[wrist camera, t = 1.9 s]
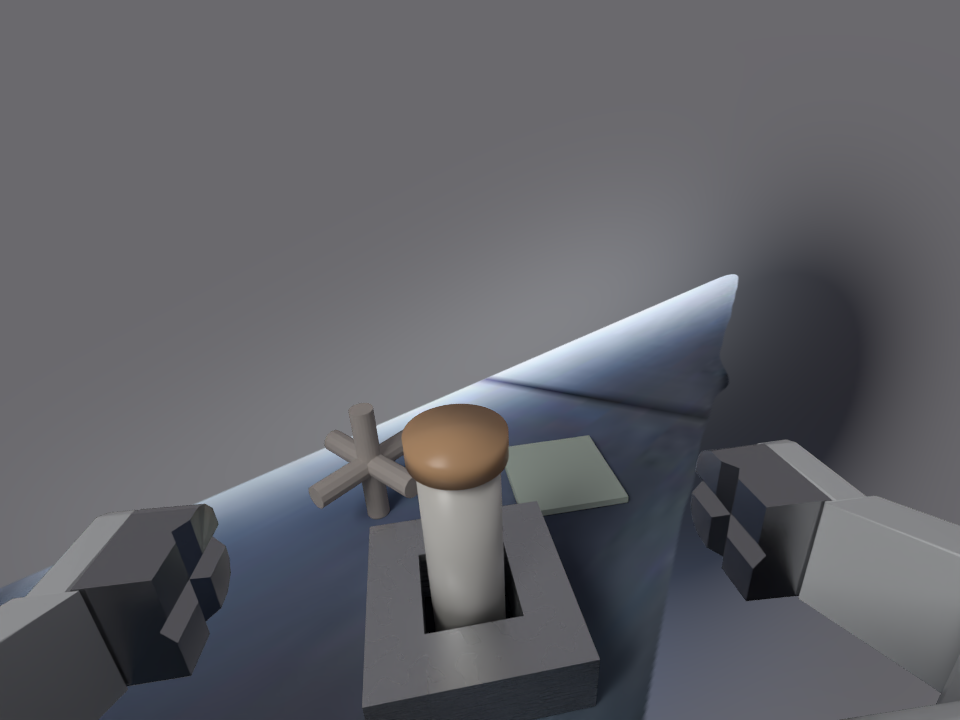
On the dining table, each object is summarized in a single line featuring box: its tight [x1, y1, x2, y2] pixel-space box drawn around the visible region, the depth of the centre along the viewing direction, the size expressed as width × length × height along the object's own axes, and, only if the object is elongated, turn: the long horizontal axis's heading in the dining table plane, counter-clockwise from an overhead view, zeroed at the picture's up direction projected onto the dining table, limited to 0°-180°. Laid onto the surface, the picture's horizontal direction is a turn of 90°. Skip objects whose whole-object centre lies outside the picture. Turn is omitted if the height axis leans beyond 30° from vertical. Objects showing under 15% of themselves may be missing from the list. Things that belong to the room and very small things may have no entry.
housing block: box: [362, 501, 600, 720], centre depth 31 cm, size 12×12×4 cm
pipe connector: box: [309, 403, 418, 519], centre depth 39 cm, size 10×10×10 cm
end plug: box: [402, 404, 509, 632], centre depth 28 cm, size 5×5×15 cm
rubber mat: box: [505, 436, 628, 516], centre depth 44 cm, size 9×9×1 cm
